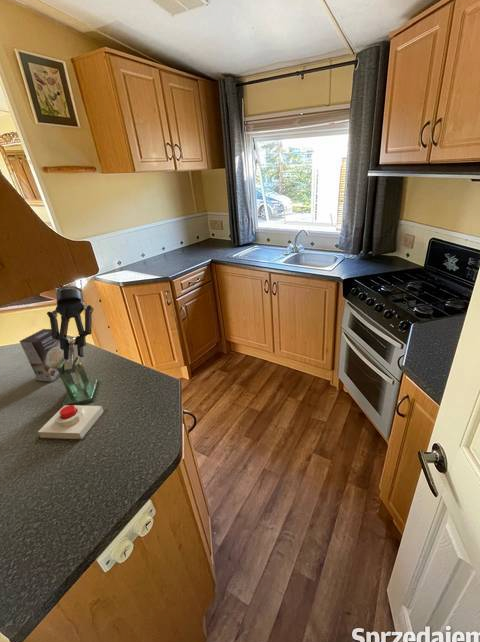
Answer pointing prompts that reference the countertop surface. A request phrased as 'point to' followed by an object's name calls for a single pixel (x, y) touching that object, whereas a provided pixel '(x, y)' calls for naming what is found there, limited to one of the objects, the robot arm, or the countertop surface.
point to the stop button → (68, 412)
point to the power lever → (70, 355)
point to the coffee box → (43, 354)
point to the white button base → (71, 423)
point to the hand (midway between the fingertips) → (74, 357)
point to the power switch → (77, 391)
